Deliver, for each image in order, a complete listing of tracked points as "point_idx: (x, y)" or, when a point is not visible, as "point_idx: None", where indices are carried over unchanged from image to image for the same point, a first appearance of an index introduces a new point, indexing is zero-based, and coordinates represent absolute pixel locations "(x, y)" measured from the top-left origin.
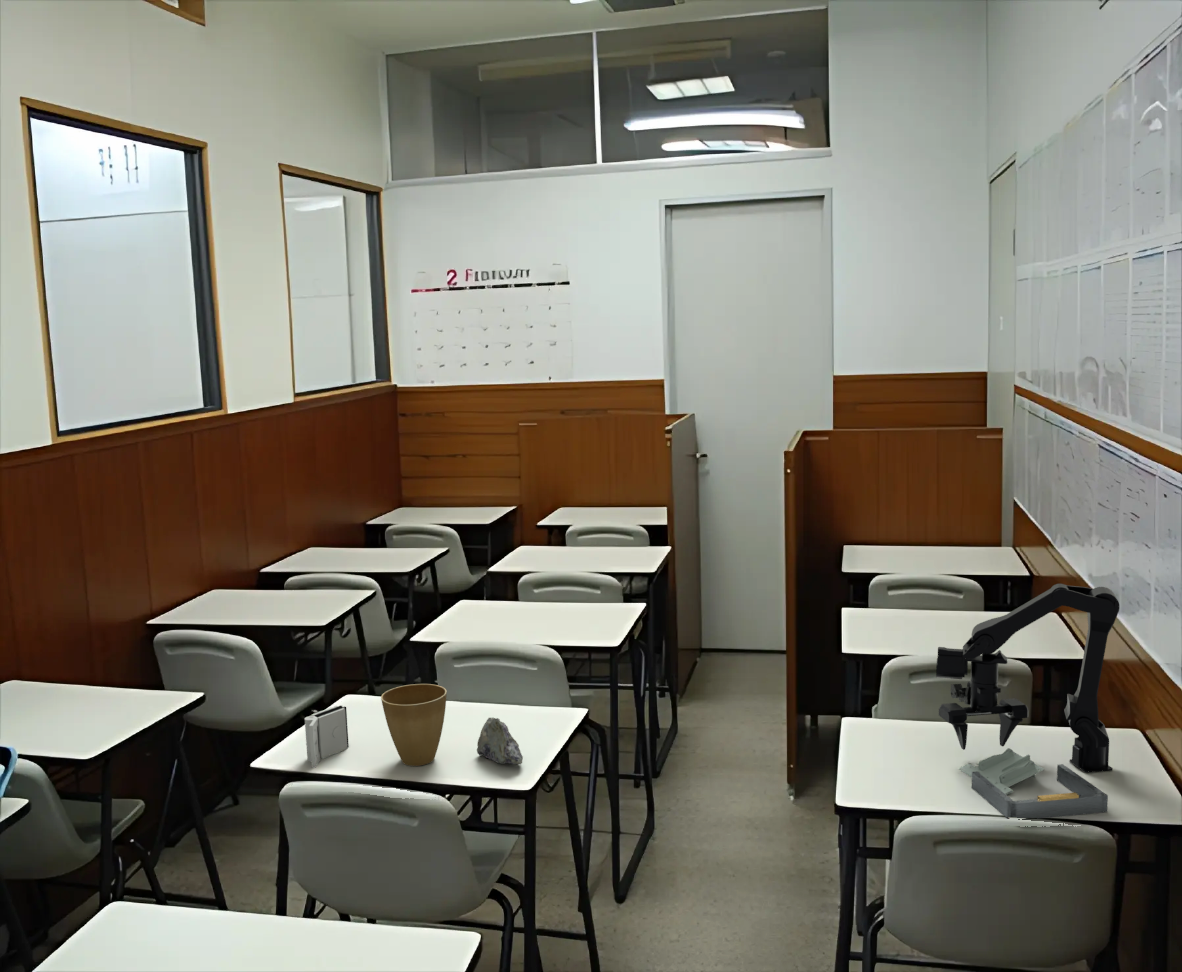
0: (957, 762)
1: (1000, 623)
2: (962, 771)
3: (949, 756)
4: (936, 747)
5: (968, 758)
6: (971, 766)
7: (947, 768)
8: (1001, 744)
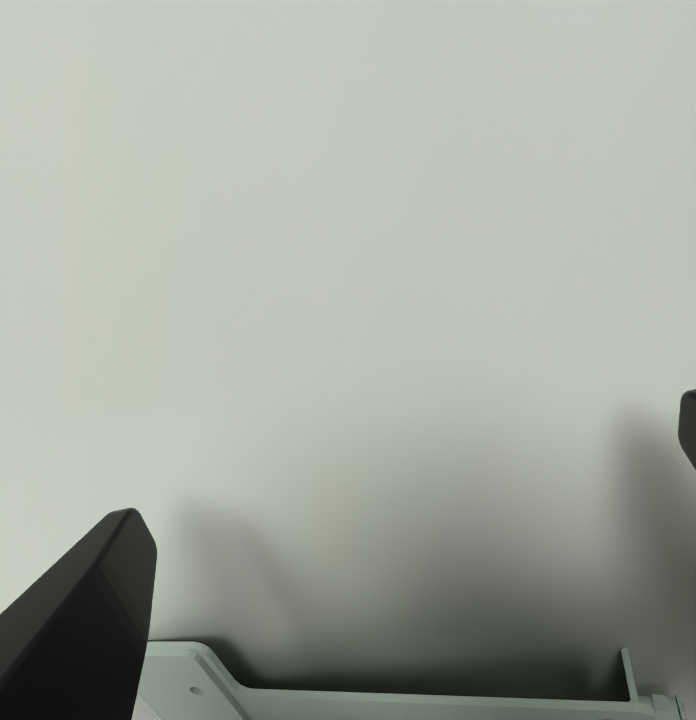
0: None
1: None
2: None
3: (14, 407)
4: None
5: (227, 448)
6: (205, 689)
7: None
8: (692, 442)
